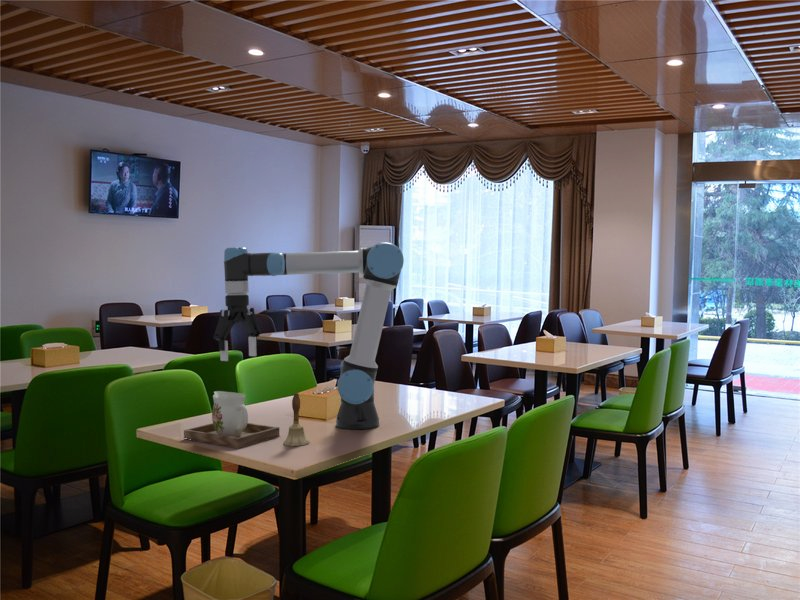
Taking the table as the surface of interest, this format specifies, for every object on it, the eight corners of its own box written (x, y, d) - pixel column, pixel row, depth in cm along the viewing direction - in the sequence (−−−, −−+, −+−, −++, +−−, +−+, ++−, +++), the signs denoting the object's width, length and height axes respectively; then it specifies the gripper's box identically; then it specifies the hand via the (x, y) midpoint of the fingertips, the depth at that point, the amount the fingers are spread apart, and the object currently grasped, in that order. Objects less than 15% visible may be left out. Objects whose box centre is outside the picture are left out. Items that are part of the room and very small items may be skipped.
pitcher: (232, 443, 231) (231, 399, 230) (201, 434, 244) (201, 393, 243) (261, 437, 239) (260, 395, 238) (230, 429, 251) (229, 389, 251)
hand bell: (284, 440, 237) (283, 391, 237) (310, 440, 238) (309, 390, 237) (282, 446, 229) (281, 395, 228) (309, 446, 230) (308, 395, 229)
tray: (279, 436, 243) (279, 427, 243) (238, 448, 227) (237, 438, 227) (226, 428, 256) (226, 419, 256) (184, 439, 240) (183, 430, 240)
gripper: (253, 292, 256) (255, 353, 257) (200, 295, 235) (203, 362, 236) (270, 292, 253) (272, 354, 254) (218, 295, 231) (220, 363, 232)
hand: (238, 358), depth 245 cm, fingers open, 13 cm apart
